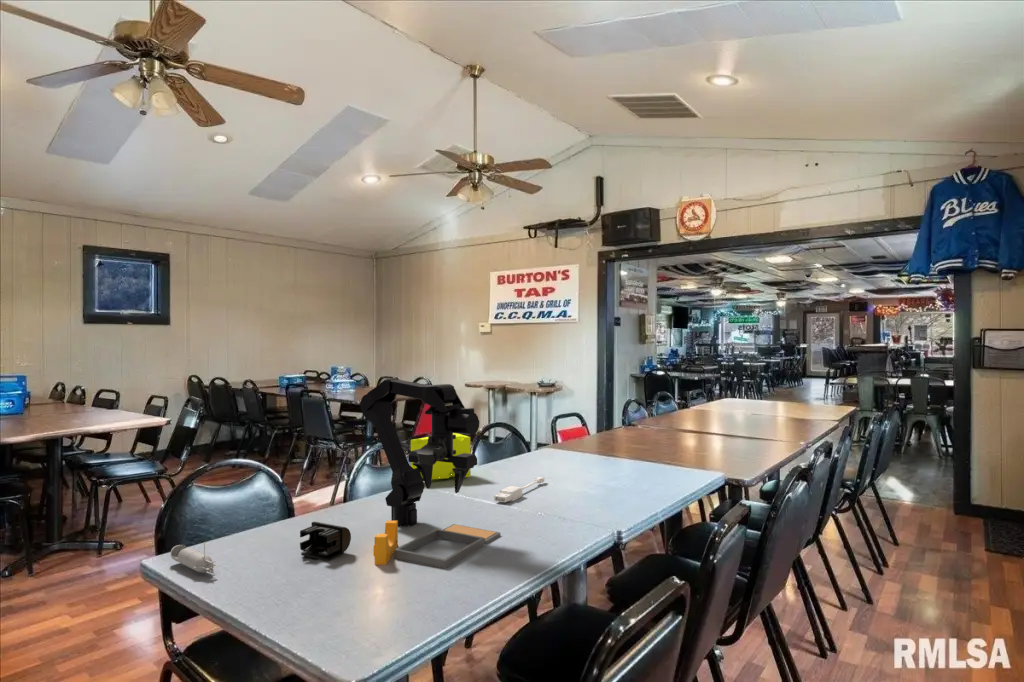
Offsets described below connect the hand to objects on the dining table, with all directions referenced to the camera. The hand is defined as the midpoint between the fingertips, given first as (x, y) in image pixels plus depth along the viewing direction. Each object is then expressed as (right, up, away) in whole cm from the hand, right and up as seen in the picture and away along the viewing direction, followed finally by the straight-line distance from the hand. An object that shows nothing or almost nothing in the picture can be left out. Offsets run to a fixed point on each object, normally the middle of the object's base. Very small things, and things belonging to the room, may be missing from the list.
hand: (442, 490), depth 152 cm
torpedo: (-54, -12, -22) cm, 59 cm away
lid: (+7, -11, -3) cm, 14 cm away
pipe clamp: (-12, -12, -16) cm, 23 cm away
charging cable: (+22, -11, +40) cm, 47 cm away
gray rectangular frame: (+1, -11, -14) cm, 18 cm away
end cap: (-26, -12, -15) cm, 32 cm away
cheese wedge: (-7, -11, +64) cm, 65 cm away
